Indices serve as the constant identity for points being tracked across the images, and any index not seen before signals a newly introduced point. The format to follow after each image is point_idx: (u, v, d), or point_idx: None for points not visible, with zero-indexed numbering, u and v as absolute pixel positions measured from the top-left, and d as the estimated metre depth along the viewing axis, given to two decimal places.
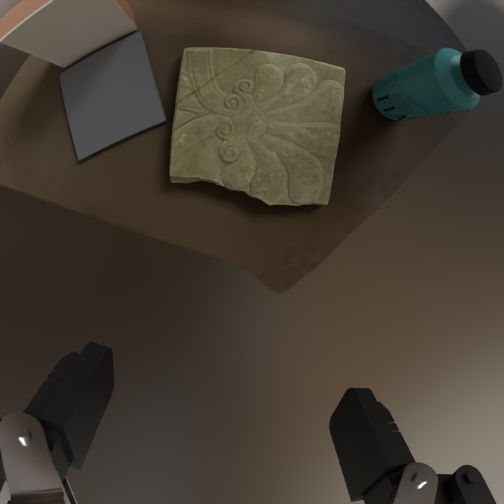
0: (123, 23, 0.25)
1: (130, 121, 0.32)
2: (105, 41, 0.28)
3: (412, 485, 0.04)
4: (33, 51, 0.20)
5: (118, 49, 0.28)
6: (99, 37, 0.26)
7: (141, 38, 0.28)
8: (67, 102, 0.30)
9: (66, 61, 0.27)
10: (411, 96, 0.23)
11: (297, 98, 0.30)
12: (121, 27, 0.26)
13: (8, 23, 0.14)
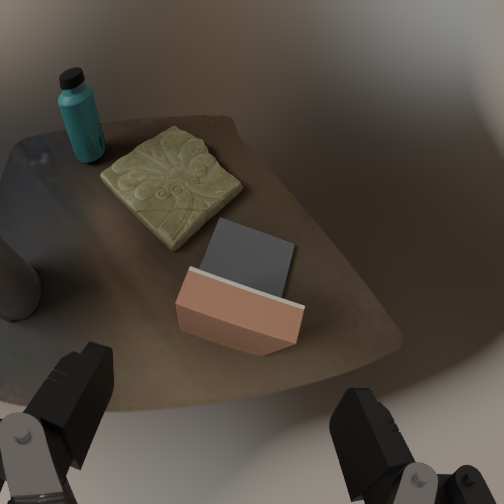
0: None
1: (241, 234, 0.47)
2: None
3: (412, 485, 0.04)
4: None
5: None
6: None
7: None
8: (279, 291, 0.44)
9: None
10: (97, 116, 0.40)
11: (142, 171, 0.46)
12: None
13: (288, 319, 0.28)
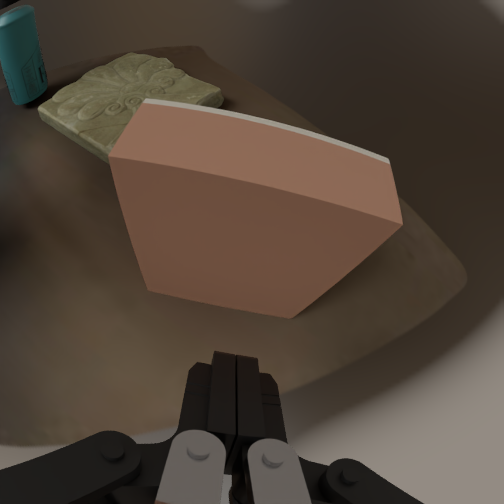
0: None
1: None
2: None
3: (255, 461, 0.05)
4: None
5: None
6: None
7: None
8: None
9: None
10: (37, 40, 0.22)
11: (89, 92, 0.29)
12: None
13: (371, 176, 0.12)
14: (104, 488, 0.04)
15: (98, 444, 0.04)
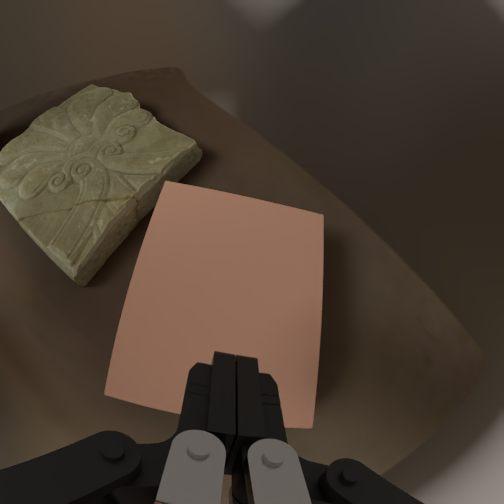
0: None
1: None
2: None
3: (255, 461, 0.05)
4: None
5: None
6: None
7: None
8: None
9: None
10: None
11: (34, 153, 0.22)
12: None
13: None
14: (104, 488, 0.04)
15: (98, 444, 0.04)
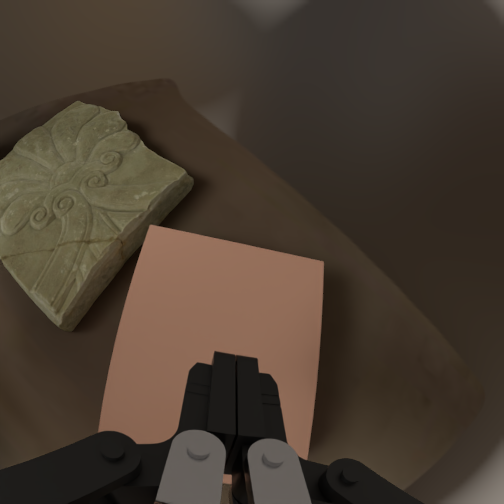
0: None
1: None
2: None
3: (255, 461, 0.05)
4: None
5: None
6: None
7: None
8: None
9: None
10: None
11: (16, 181, 0.20)
12: None
13: None
14: (104, 488, 0.04)
15: (98, 444, 0.04)
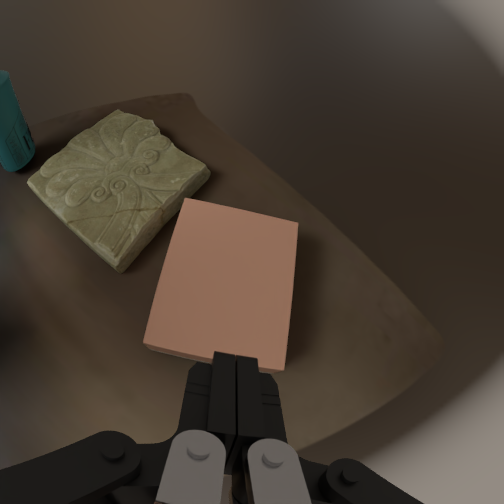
0: None
1: None
2: None
3: (255, 461, 0.05)
4: None
5: None
6: None
7: None
8: None
9: None
10: (16, 108, 0.25)
11: (75, 169, 0.31)
12: None
13: None
14: (104, 488, 0.04)
15: (98, 444, 0.04)
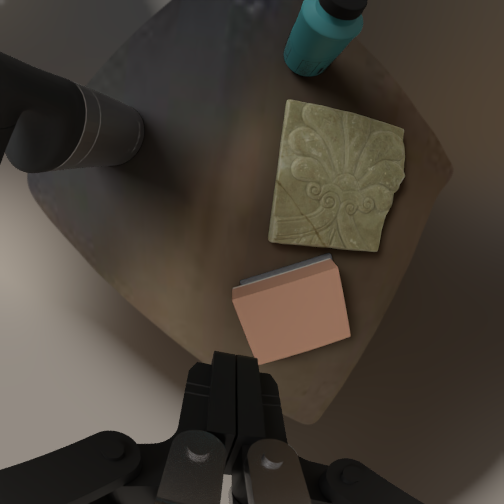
0: None
1: None
2: None
3: (255, 461, 0.05)
4: None
5: None
6: None
7: (248, 280, 0.43)
8: None
9: None
10: (338, 54, 0.26)
11: (324, 146, 0.36)
12: None
13: None
14: (104, 488, 0.04)
15: (98, 444, 0.04)
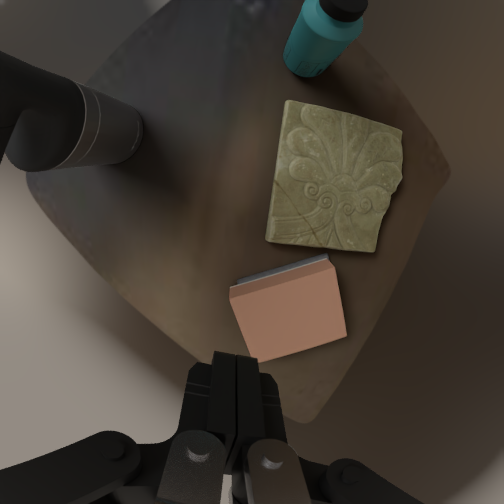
0: None
1: None
2: None
3: (255, 461, 0.05)
4: None
5: None
6: None
7: (245, 279, 0.44)
8: None
9: None
10: (337, 56, 0.26)
11: (322, 147, 0.36)
12: None
13: None
14: (104, 488, 0.04)
15: (98, 444, 0.04)
